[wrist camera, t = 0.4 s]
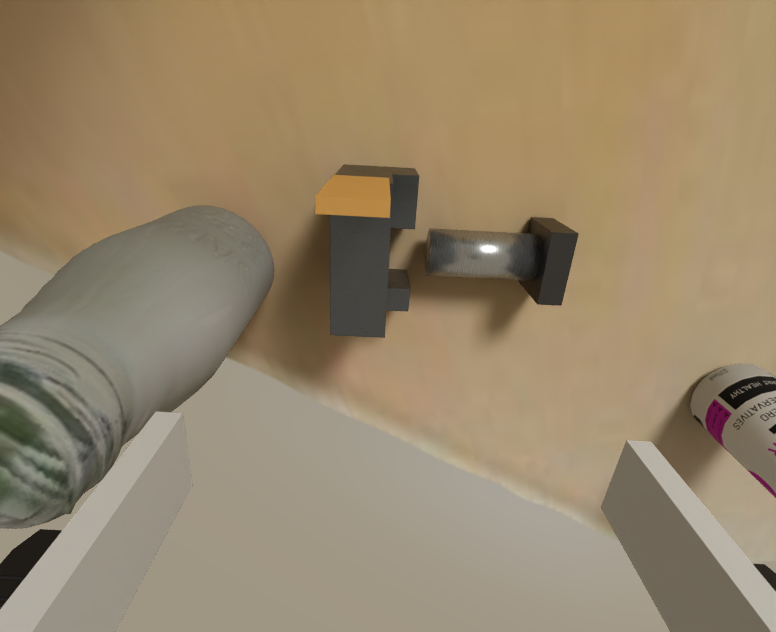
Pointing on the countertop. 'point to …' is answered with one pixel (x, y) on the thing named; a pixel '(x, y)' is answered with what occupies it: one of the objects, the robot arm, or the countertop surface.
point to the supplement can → (741, 416)
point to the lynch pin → (507, 257)
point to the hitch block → (370, 258)
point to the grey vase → (118, 350)
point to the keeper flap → (355, 196)
